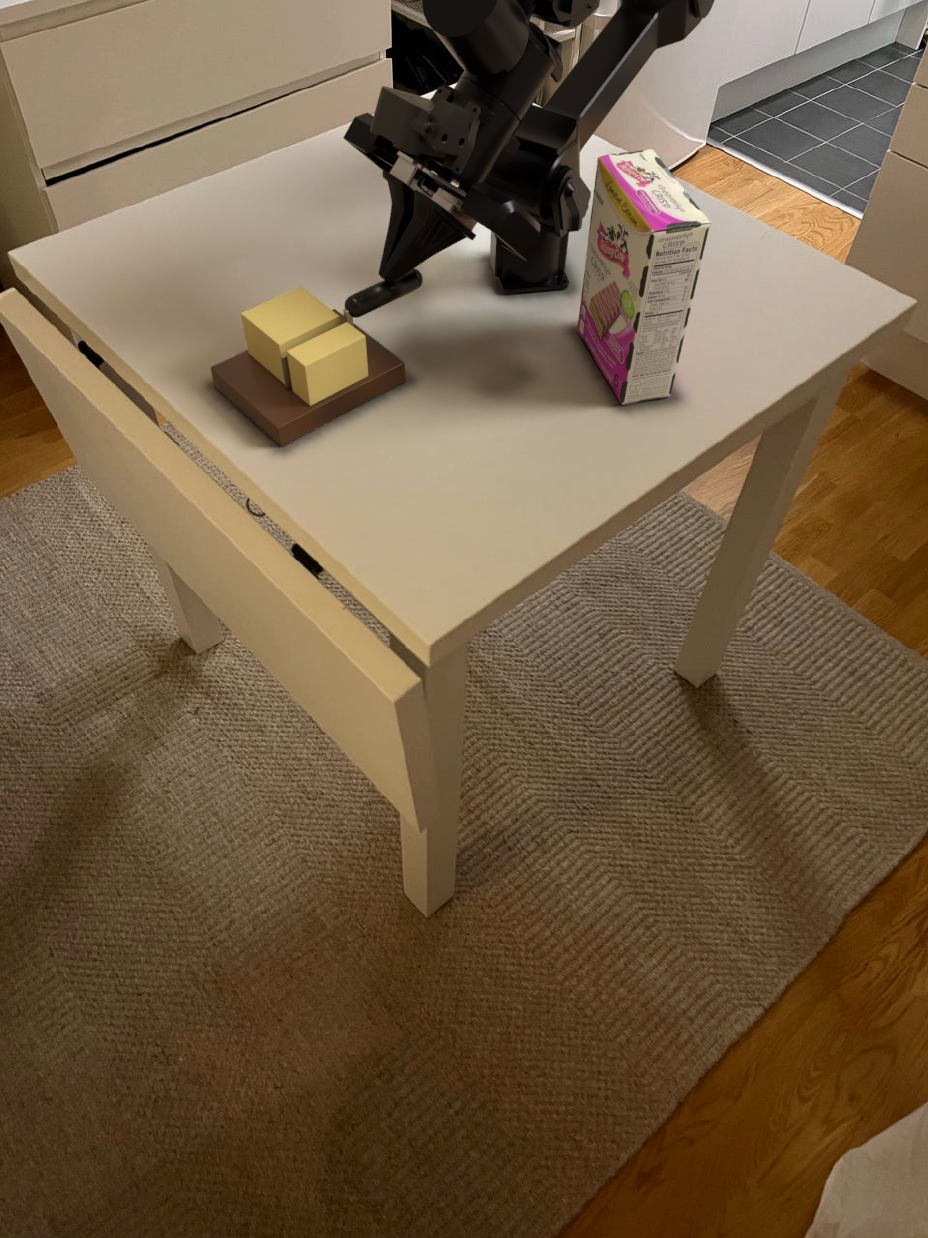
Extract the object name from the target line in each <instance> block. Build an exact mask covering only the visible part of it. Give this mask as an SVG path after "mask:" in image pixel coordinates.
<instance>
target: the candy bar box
mask: <svg viewBox="0 0 928 1238" xmlns="http://www.w3.org/2000/svg"><path fill="white" fill-rule="evenodd" d="M594 179H595V180H594V187H593V188H594V189H593V194H592V195H593V196H592V206H591V214H590V221H589V229H588V238H587V248H586V254H585V255H586V256H585V263H584V273H583V281H582V289H581V298H580V306H579V313H578V320H577V328H576V331H577V332H578V334H579V336H580V337H581V339H582V341H583V342H584V344H585V346H586V347H587V349H588V351H589V352H590V354H591V356H592V357H593V359H594V361H595V363H596V364H597V366H598V368H599V369H600V371H601V372H602V375H603V376H604V377H605V380H606V381H607V382H608V384H609V386H610V387H611V390H612V392H613V393H614V395H615V396H616V399H617V400H618V401H619V403H620V405H621V406H627V405H628V406H629V405H635V404H638V403H643V402H647V401H653V400H659V399H665V398H669V397H670V398H671V396H672V393H673V392H672V391H673V388H674V383H675V379H676V374H677V372H678V371H677V370H678V366H679V361H680V357H681V353H682V347H683V344H684V339H685V335H686V331H687V326H688V322H689V318H690V314H691V309H692V305H693V301H694V296H695V291H696V287H697V283H698V279H699V278H698V277H699V274H700V269H701V266H702V261H703V256H704V251H705V248H706V244H707V239H708V235H709V230H710V227H711V225H712V224H711V223H712V222H711V220H710V219H709V218H708V217H707V216H706V214H705V213H704V212H703V211H702V209H700V207H699V206H698V204H697V203H696V202H695V201H694V199H693V198H692V197H691V196H690V194H688V192H687V190H686V189H685V188H684V187H683V186H682V184H681V183H680V182H679V181H678V180H677V178H676V176H674V174H673V173H672V172H671V170H670V169H669V168H668V166H666V164H665V163H664V162H663V160H662V159H661V158H660V157H659V155H658V154H657V153H656V152H655V150H654V149H653V148H649V149H642V150H635V151H625V152H620V153H609V154H605V155H601V156H598V157H597V161H596V171H595V178H594Z"/></svg>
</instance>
